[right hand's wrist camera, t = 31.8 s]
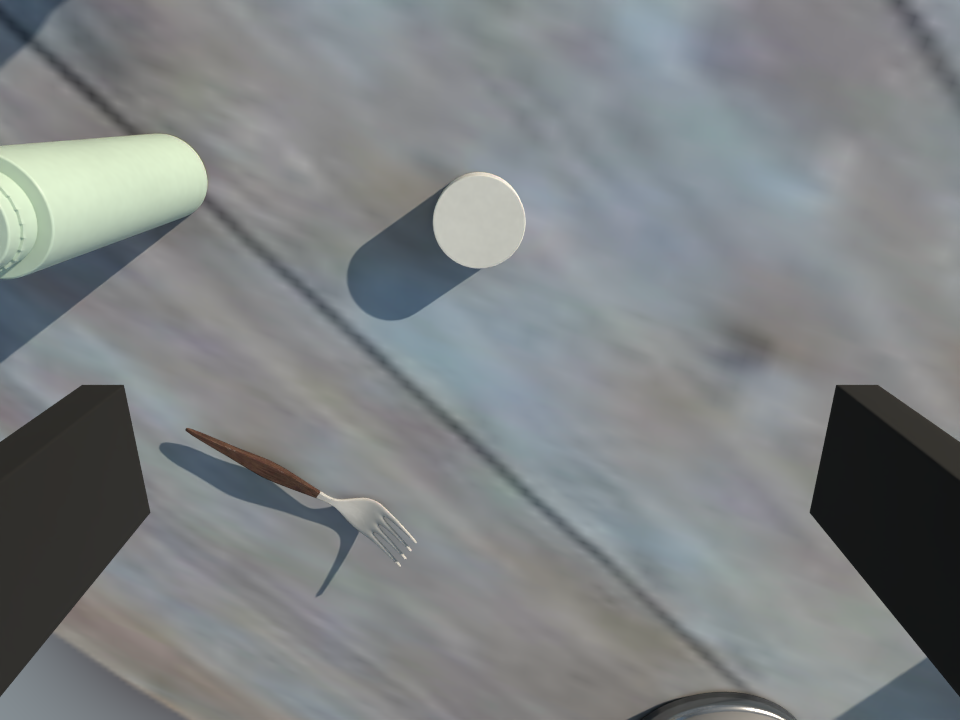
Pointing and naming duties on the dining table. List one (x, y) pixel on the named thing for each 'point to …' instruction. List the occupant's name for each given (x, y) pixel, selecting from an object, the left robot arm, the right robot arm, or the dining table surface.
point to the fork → (317, 494)
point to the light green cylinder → (90, 195)
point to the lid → (479, 220)
